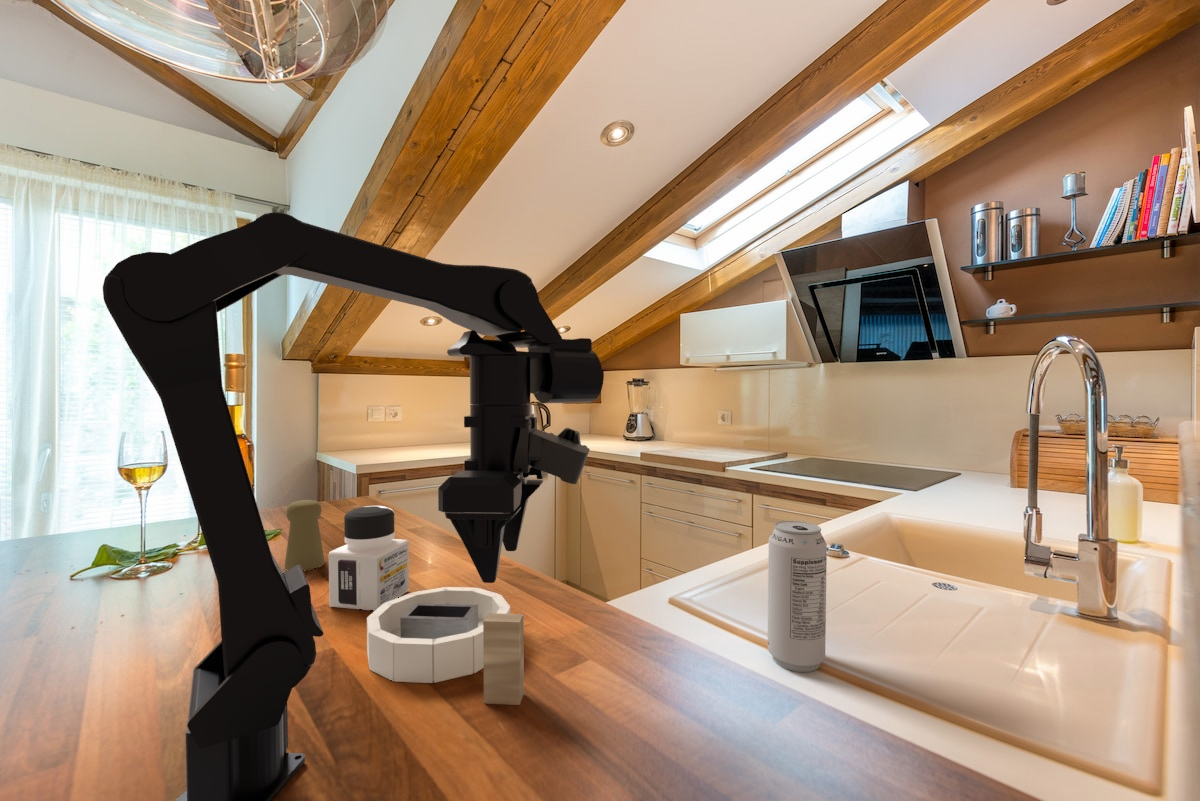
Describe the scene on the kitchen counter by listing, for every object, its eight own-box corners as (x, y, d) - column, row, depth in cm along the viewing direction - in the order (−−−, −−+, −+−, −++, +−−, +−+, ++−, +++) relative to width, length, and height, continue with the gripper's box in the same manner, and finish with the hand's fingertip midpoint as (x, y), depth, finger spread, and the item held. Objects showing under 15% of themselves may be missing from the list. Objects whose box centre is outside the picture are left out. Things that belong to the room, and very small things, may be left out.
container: (378, 612, 73) (377, 516, 73) (328, 607, 75) (326, 513, 74) (409, 590, 81) (409, 503, 80) (363, 587, 82) (362, 501, 82)
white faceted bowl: (487, 685, 55) (487, 646, 55) (339, 679, 56) (339, 641, 56) (520, 619, 71) (520, 588, 71) (404, 615, 72) (403, 585, 72)
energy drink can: (802, 644, 64) (804, 518, 64) (837, 670, 58) (839, 531, 58) (757, 651, 62) (758, 521, 62) (788, 678, 57) (789, 535, 56)
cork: (286, 562, 93) (285, 499, 93) (325, 558, 96) (324, 496, 95) (282, 574, 88) (281, 506, 87) (324, 568, 90) (323, 502, 90)
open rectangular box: (469, 650, 61) (469, 621, 61) (396, 648, 61) (395, 619, 61) (481, 630, 66) (481, 603, 66) (414, 628, 66) (414, 601, 66)
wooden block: (519, 704, 52) (519, 622, 52) (483, 703, 52) (483, 621, 52) (523, 694, 54) (523, 614, 53) (488, 692, 54) (488, 613, 54)
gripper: (574, 409, 43) (574, 605, 43) (590, 401, 61) (590, 539, 62) (435, 409, 43) (436, 603, 44) (492, 401, 62) (493, 537, 62)
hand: (501, 565), depth 53 cm, fingers open, 9 cm apart
